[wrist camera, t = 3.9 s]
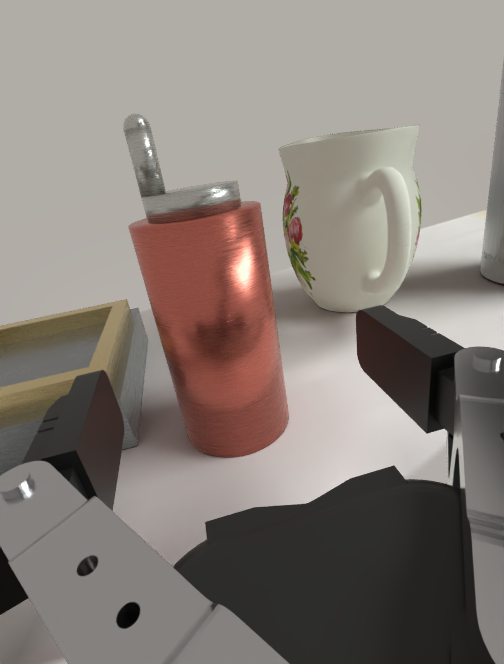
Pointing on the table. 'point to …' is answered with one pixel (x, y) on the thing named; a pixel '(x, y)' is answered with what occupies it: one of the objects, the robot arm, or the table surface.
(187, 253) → the spout can
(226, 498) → the table surface
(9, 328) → the grey tray
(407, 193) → the pitcher
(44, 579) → the robot arm
